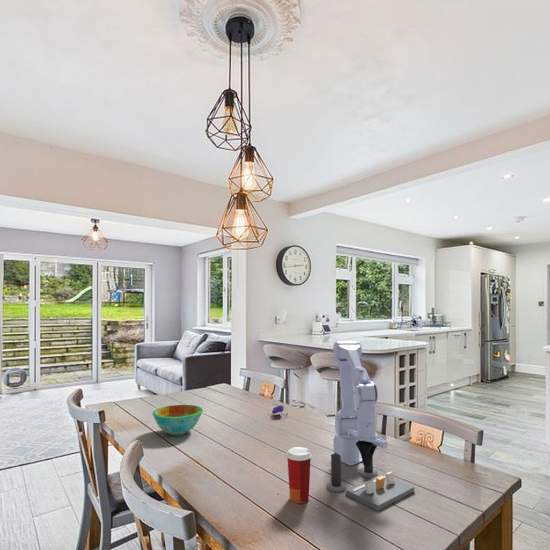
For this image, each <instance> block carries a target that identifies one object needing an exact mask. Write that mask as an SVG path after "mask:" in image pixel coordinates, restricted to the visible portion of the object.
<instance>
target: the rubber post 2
mask: <svg viewBox="0 0 550 550" xmlns="http://www.w3.org/2000/svg"><path fill="white" fill-rule="evenodd" d="M373 457H374V456H373ZM373 457H372V461H371V465H369V466H364V465H363V467H362V468H360V469H359V476H361V475H362V476H361V477H363V478H365V477H367V478H366V479H372V478H374V477H376V476H377V475H378V476H379V473H378V470H377V469H375V468H374V461H373V460H374V459H373Z"/></svg>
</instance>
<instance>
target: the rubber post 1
mask: <svg viewBox="0 0 550 550" xmlns="http://www.w3.org/2000/svg"><path fill="white" fill-rule="evenodd" d="M341 463H342V462H341V456H340V455H339V454H334V453H331V454H330V464H331V465H330V468H331V469H330V470H331V471H330V472H331V475H330V476H331V477H330V479H331V480H329V481H327V482H326V489H327V491H329V492H332V493H342V491H343V492H345V491H346V490H345V489H347V486H346V483H345V482H344V481H342V469H341V468H342V465H341ZM344 490H345V491H344Z"/></svg>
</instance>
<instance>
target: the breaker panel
mask: <svg viewBox="0 0 550 550" xmlns="http://www.w3.org/2000/svg"><path fill="white" fill-rule="evenodd" d="M380 476H383V477H385V481H384V487H382V488H380V489H377V488H376V487H375V486H376V478H377V477H380ZM369 480H372V481H373V482H374V489H375V492H373V493H371V494H367V493H366V488H365V482H367V481H369ZM394 480H395V482H394V483H392V484H387V482H386V476H385V473H381V474H378V476H376V477H374V478H368V480H364V481H363V482H361V483H360V482H359V483H358V484H356V485H353V486H351V487H349V488H346V490H345V496H347V495H348V496H347V497H349V496H350V497H349V498H351V497H352V499H353V498H354V500H355V501H357V502H359V503H361V504H363V505H365V506H367V507H370V508H371V507H372V508H371V509H374V510H375V511H377V512H380V511H381V510H382V509H385V508H387V507H389V506H390V504H391V505H393V504H394V503H393V502H395V503H396V502H398V501H400V500H402V499H404V498H406V497H407V495H408V494H410V493H412V492H414V493H415V486H413V485H410V484H408V483H405V482H402V481H401V480H398V479H396V478H394ZM412 494H413V493H412ZM410 495H411V494H410ZM405 496H406V497H405ZM408 496H409V495H408ZM403 497H404V498H403ZM401 498H402V499H401ZM399 499H400V500H399ZM392 503H393V504H392ZM388 505H389V506H388Z"/></svg>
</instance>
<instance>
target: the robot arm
mask: <svg viewBox="0 0 550 550" xmlns="http://www.w3.org/2000/svg"><path fill="white" fill-rule="evenodd" d="M332 350H333V359H334V363H335V364H336V365H338V369H339V376H340V377H339V380H340V394H341V409H339V410H338V411H337V412H336V413H335V415H334V417H335V421H334V428H335V433H336V434H334V437H333V443H332V445H333V454H339V455H340V456H341V463H344V464H346V465H348V466H351V467H352V466H354V465H357V464H359V463H362V464H363V467H364V466H369V465H371V461H372V457H374V454H375V451H376V450H377V447H380V449H387V448H388V441H387V440H385V439H384V438H382V437H380V436H378V435H377V434H376V431H377V430H376V402H377V401H378V398H379V397H378V396H379V395H378V388H377V384H376V383H375V382H373V381H372V380H371V379H370V376H369V373H368V371H367V369H366V368H365V367H363V366H362V362H361V356H362V351H363V349H362V343H361V342H360V341H359V340H356V341H354V340H353V341H349V340H348V341H344V340H343V341H338V340H336V341H334V343H333V349H332ZM355 407H356V408H355Z"/></svg>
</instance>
